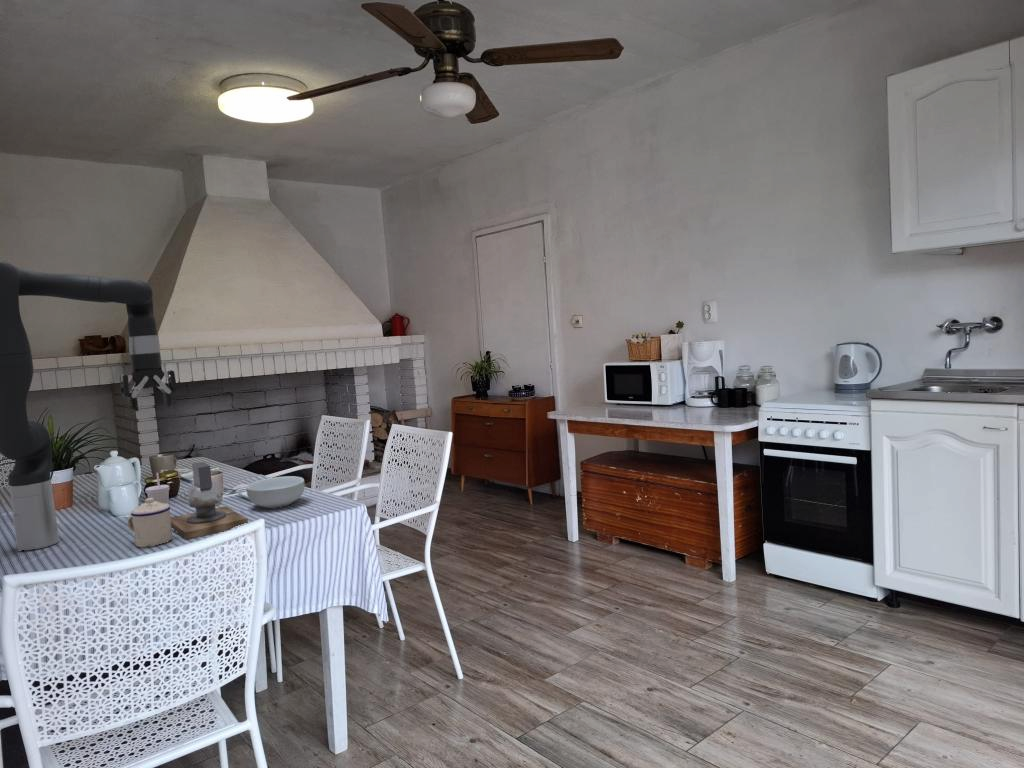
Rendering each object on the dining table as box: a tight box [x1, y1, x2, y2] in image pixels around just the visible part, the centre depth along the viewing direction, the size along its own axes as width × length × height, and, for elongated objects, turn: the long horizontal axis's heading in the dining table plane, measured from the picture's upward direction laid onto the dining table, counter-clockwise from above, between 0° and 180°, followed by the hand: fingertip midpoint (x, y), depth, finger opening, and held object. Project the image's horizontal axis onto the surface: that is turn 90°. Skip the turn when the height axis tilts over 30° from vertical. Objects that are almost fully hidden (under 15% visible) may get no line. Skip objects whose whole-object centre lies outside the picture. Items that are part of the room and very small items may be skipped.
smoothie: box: [145, 472, 171, 505], centre depth 203 cm, size 6×6×14 cm
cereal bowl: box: [245, 475, 306, 509], centre depth 212 cm, size 17×17×7 cm
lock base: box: [170, 504, 249, 540], centre depth 194 cm, size 16×20×6 cm
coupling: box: [186, 461, 222, 508], centre depth 193 cm, size 10×8×11 cm
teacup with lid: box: [126, 497, 173, 548], centre depth 181 cm, size 12×9×12 cm
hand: (151, 409), depth 197 cm, fingers open, 8 cm apart
